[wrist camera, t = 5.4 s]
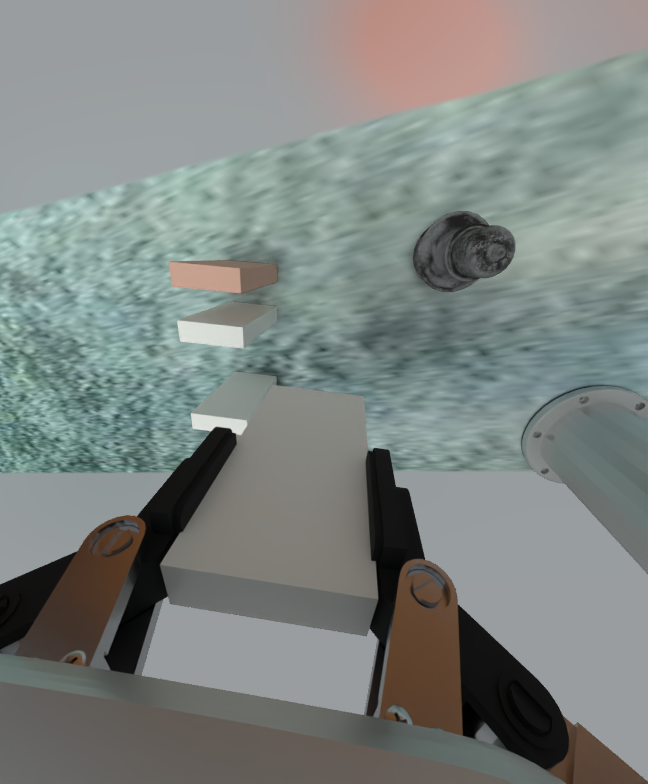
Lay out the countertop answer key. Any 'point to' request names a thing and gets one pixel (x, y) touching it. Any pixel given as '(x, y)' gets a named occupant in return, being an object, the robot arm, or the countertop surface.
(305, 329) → the countertop surface
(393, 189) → the countertop surface
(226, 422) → the domino
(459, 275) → the dark grey ornamental finial
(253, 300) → the countertop surface
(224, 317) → the domino
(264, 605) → the domino
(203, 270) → the end domino
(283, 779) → the robot arm
